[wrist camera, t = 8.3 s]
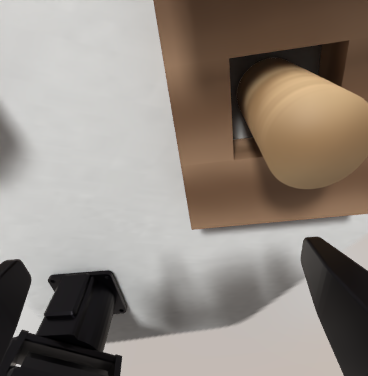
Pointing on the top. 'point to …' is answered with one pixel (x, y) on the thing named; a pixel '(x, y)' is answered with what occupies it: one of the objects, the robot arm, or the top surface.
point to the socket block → (221, 102)
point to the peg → (303, 123)
